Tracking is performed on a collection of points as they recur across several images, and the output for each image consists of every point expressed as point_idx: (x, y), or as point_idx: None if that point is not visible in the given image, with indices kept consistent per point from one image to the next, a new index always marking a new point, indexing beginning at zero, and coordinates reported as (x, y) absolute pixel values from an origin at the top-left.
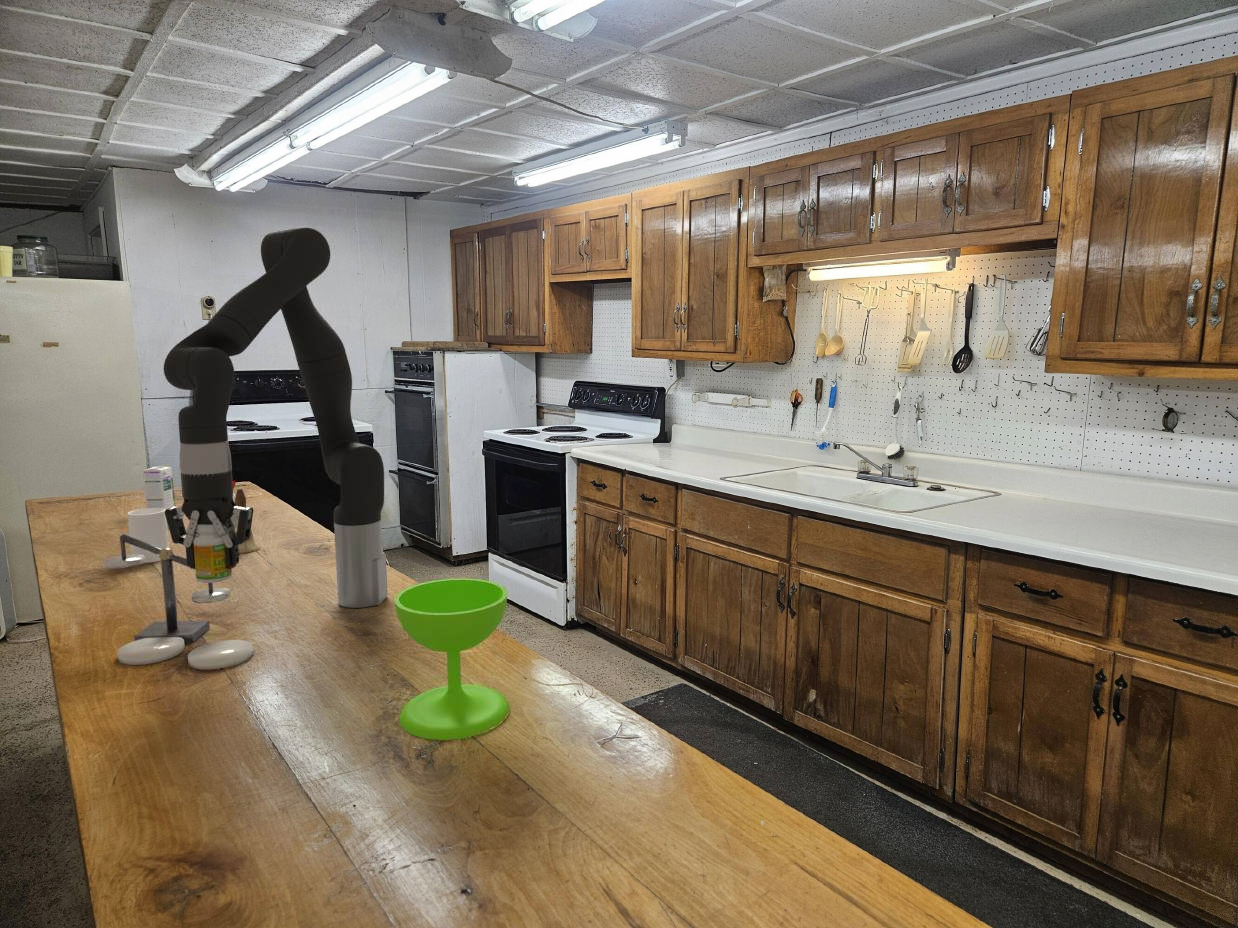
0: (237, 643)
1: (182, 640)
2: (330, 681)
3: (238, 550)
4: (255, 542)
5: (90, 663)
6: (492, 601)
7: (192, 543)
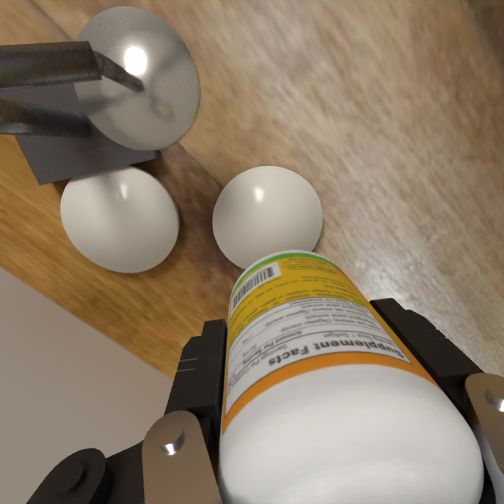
0: (278, 185)
1: (155, 185)
2: (480, 277)
3: (466, 358)
4: None
5: (62, 271)
6: None
7: (217, 483)
